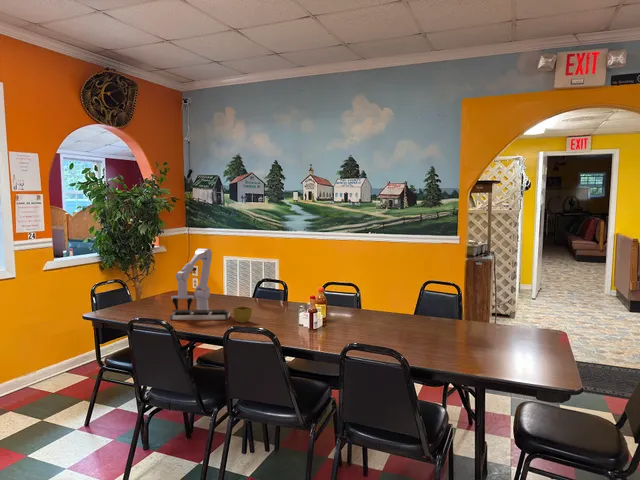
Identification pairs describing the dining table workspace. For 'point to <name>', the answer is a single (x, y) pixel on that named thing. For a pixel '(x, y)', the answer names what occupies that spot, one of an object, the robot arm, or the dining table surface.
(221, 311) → the panel
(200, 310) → the rocker
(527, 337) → the dining table surface
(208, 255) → the robot arm
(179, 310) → the grey rectangular frame
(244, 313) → the flower pot
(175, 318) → the grey switch panel
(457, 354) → the dining table surface
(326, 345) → the dining table surface
